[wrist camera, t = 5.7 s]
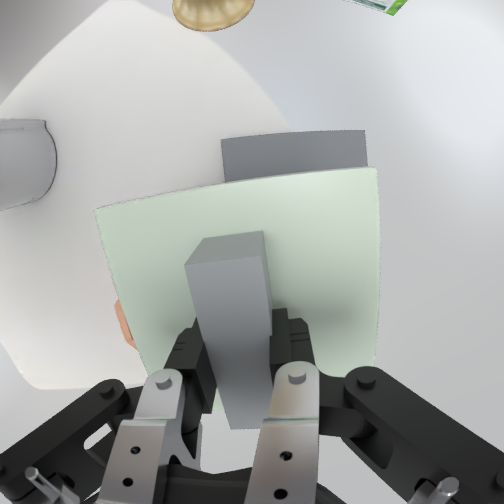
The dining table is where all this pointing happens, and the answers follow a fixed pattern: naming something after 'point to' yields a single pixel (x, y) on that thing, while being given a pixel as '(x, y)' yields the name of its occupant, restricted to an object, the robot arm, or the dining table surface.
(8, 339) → the dining table surface
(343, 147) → the mat
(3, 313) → the dining table surface
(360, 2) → the syrup box
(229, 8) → the hand bell
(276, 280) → the cover sheet
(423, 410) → the robot arm
